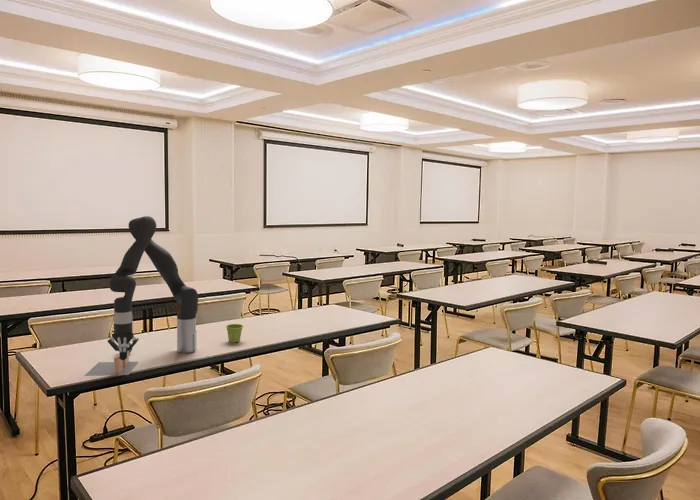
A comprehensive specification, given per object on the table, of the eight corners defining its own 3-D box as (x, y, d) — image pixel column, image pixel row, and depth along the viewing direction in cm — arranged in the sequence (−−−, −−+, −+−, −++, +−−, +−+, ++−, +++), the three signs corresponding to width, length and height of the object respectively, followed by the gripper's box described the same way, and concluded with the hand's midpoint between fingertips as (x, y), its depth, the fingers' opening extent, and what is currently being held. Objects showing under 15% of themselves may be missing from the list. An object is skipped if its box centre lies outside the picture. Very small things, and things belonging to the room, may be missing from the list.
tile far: (128, 362, 234) (128, 348, 233) (125, 367, 228) (124, 352, 227) (125, 362, 234) (124, 348, 233) (121, 367, 228) (121, 352, 227)
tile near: (123, 369, 225) (121, 353, 224) (118, 373, 219) (117, 358, 218) (119, 369, 225) (117, 354, 224) (115, 373, 219) (113, 358, 218)
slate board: (139, 364, 236) (139, 361, 236) (128, 377, 218) (128, 374, 218) (98, 364, 233) (98, 362, 233) (84, 378, 216) (84, 375, 216)
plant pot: (245, 339, 282) (245, 324, 281) (240, 344, 273) (240, 328, 272) (229, 338, 283) (229, 323, 282) (223, 343, 274) (223, 327, 273)
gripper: (141, 319, 225) (141, 356, 226) (109, 319, 222) (110, 357, 224) (136, 323, 217) (137, 362, 219) (104, 323, 215) (104, 362, 217)
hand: (123, 359), depth 221 cm, fingers closed
